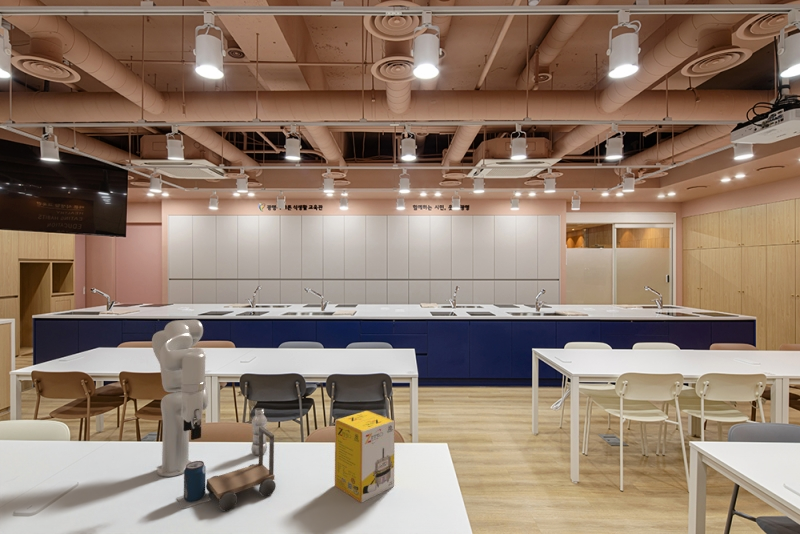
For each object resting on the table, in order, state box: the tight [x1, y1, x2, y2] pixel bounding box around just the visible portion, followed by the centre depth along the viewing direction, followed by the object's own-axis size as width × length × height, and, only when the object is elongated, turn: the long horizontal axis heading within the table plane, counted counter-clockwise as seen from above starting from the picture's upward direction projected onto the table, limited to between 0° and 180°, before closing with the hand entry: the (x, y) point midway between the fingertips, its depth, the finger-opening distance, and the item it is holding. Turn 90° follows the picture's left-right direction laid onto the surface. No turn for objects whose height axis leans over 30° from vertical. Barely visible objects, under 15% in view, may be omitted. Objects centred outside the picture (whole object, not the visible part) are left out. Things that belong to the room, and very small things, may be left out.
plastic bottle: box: [250, 407, 268, 456], centre depth 181 cm, size 6×7×20 cm
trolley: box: [205, 427, 277, 512], centre depth 148 cm, size 20×16×21 cm
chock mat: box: [176, 490, 212, 510], centre depth 144 cm, size 9×9×1 cm
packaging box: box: [334, 410, 396, 503], centre depth 154 cm, size 16×16×25 cm
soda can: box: [183, 460, 207, 503], centre depth 144 cm, size 7×7×12 cm
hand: (192, 434), depth 145 cm, fingers open, 9 cm apart
